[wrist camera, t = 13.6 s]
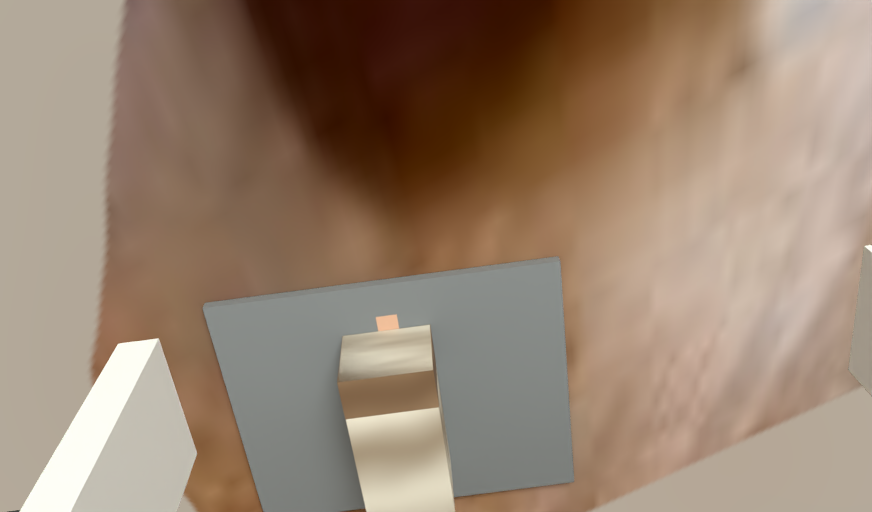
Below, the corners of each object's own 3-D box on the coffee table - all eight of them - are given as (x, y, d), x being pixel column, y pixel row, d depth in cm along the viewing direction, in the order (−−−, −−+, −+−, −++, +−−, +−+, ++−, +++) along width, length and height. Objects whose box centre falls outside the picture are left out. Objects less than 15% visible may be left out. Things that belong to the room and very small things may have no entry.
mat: (558, 256, 44) (560, 261, 44) (572, 475, 51) (574, 482, 51) (204, 302, 44) (202, 308, 44) (267, 514, 52) (266, 521, 51)
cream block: (450, 459, 49) (455, 513, 45) (371, 470, 50) (368, 524, 45) (430, 324, 45) (433, 370, 41) (342, 335, 45) (337, 382, 41)
